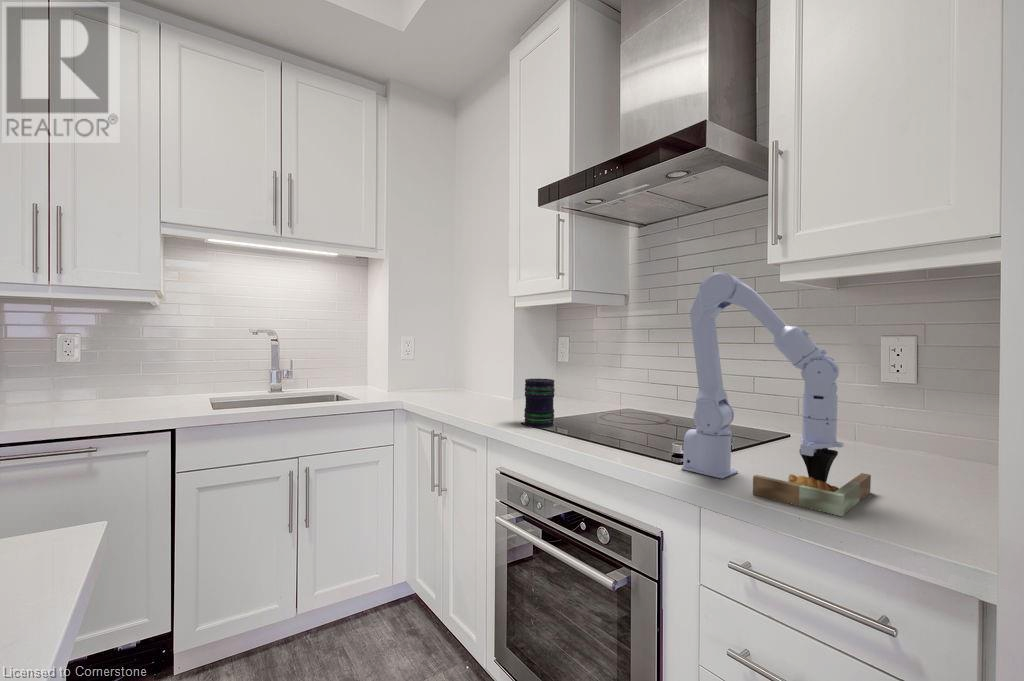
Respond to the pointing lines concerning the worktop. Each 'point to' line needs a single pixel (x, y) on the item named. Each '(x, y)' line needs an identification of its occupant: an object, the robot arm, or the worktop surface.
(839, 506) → the two-tone corner bracket
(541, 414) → the storage jar
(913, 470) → the worktop surface
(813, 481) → the pastry
